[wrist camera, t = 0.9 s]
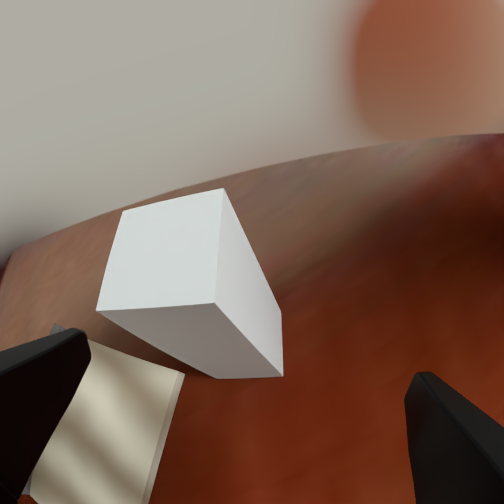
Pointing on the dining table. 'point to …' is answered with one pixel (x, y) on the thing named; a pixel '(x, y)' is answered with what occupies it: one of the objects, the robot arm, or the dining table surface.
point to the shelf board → (108, 433)
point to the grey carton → (194, 287)
